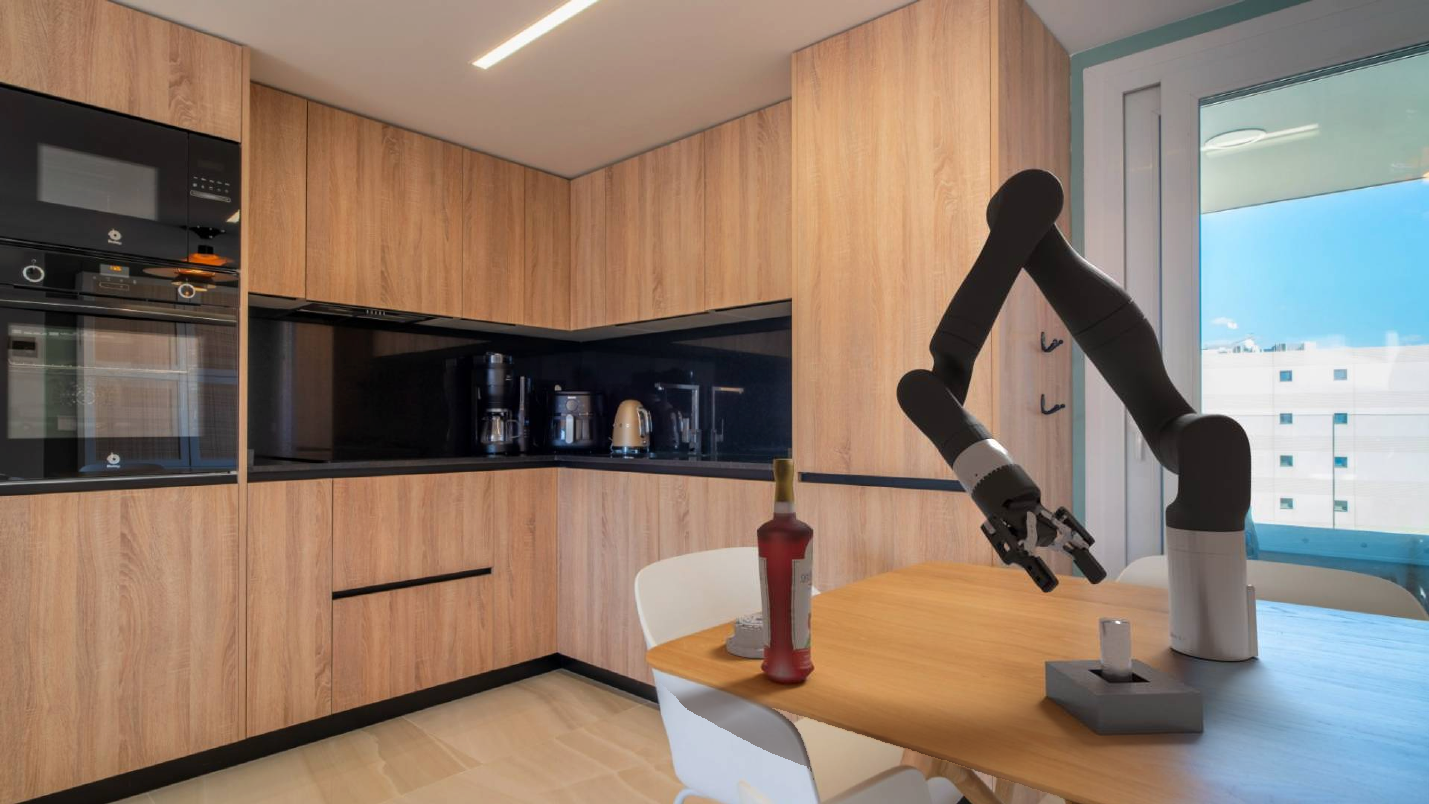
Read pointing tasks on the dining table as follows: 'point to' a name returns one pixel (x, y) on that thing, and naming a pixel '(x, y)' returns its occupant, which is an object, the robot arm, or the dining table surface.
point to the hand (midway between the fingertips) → (1077, 584)
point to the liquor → (786, 584)
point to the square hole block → (1124, 699)
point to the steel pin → (1115, 650)
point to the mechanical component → (747, 637)
